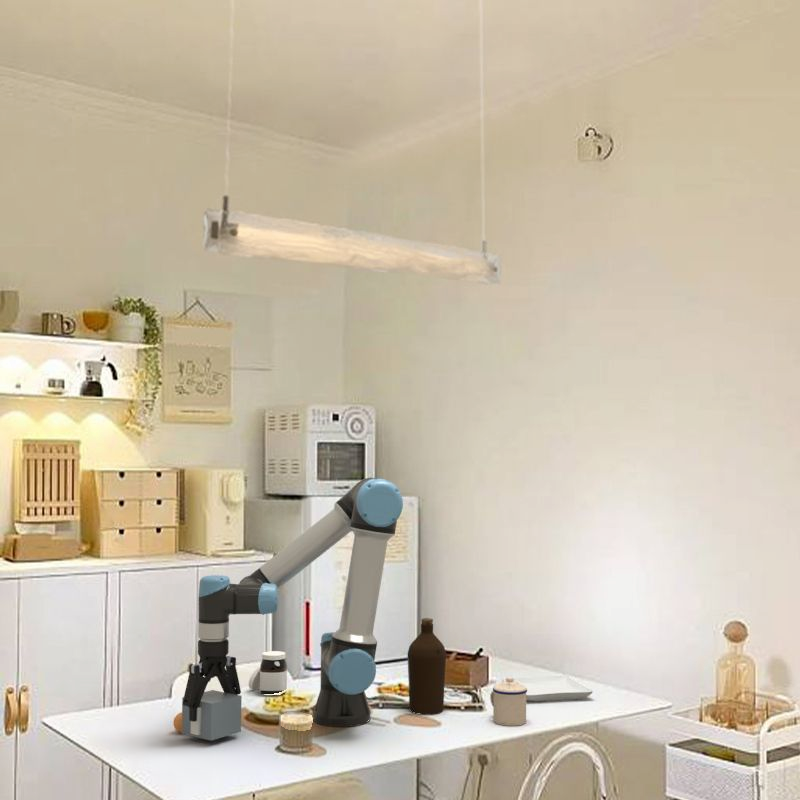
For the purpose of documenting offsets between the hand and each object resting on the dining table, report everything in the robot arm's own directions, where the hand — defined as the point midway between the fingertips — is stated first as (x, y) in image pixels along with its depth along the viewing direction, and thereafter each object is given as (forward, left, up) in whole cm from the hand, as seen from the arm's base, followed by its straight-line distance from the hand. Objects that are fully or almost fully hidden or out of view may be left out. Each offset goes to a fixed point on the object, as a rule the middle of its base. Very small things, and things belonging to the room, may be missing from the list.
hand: (211, 729), depth 263 cm
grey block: (0, 0, -1) cm, 1 cm away
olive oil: (-26, -56, -2) cm, 62 cm away
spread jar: (+23, -45, -3) cm, 51 cm away
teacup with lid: (-49, -60, -2) cm, 77 cm away
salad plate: (-43, -94, -3) cm, 103 cm away
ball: (+10, 0, 0) cm, 10 cm away
